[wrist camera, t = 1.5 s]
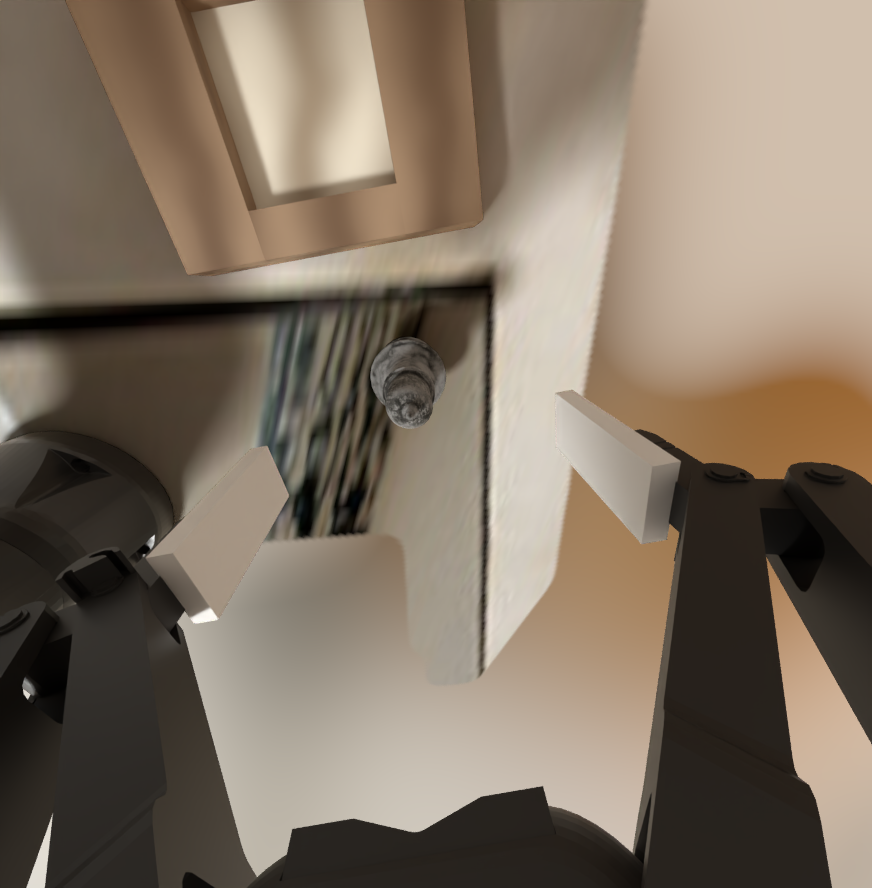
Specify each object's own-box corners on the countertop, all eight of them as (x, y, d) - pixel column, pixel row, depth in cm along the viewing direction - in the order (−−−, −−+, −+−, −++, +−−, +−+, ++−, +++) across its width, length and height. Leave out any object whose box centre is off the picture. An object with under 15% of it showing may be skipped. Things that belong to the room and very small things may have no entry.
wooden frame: (212, 276, 25) (187, 274, 22) (87, -24, 18) (29, -81, 16) (474, 226, 25) (483, 219, 22) (443, -91, 18) (450, -160, 16)
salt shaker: (397, 318, 27) (391, 341, 17) (454, 358, 29) (483, 402, 18) (361, 377, 29) (336, 432, 19) (418, 411, 31) (424, 479, 20)
